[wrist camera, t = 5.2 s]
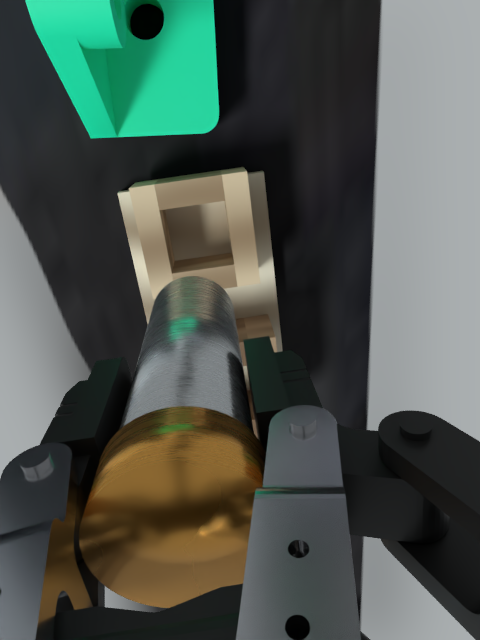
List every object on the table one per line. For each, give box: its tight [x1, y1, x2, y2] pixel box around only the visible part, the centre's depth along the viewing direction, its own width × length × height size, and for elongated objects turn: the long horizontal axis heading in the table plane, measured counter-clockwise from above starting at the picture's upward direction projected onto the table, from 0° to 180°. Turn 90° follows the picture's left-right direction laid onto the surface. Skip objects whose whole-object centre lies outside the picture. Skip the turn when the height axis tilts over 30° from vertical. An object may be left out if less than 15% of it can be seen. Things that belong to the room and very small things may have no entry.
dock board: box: [118, 167, 283, 438], centre depth 32 cm, size 18×10×5 cm, turn 7°
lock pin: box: [79, 276, 266, 608], centre depth 12 cm, size 3×3×10 cm
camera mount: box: [26, 0, 219, 138], centre depth 23 cm, size 12×8×10 cm, turn 2°
